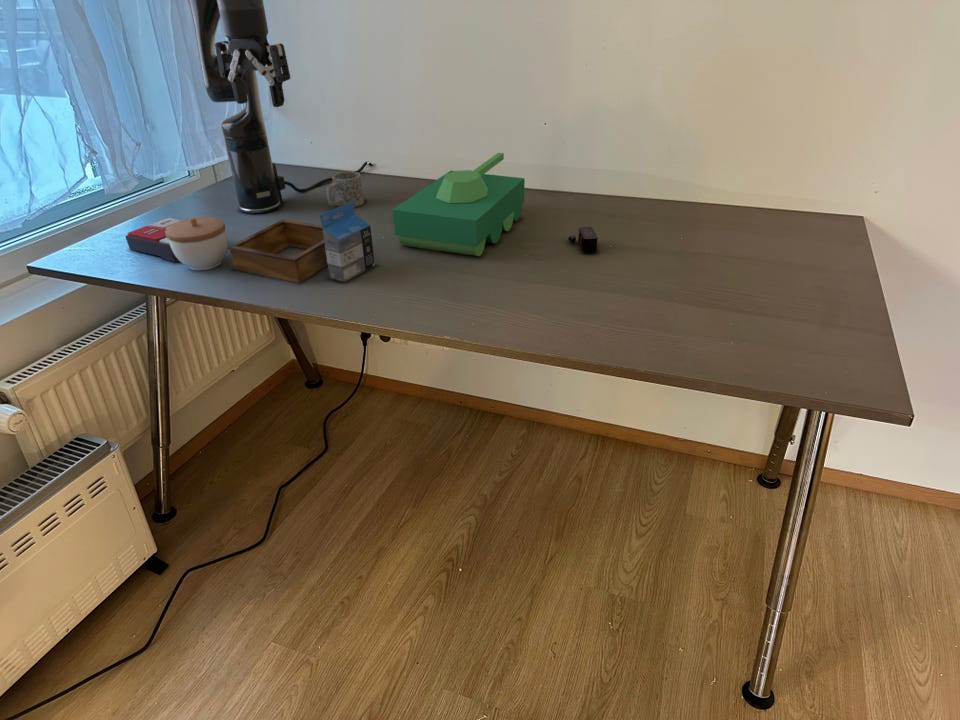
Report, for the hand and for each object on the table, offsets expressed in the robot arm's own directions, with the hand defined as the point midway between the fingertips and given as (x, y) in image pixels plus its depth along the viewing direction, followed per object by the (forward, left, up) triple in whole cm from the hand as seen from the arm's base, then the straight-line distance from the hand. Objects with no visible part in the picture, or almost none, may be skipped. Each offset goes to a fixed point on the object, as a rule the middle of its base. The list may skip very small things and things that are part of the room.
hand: (260, 104), depth 123 cm
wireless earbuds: (-22, +57, -28) cm, 67 cm away
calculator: (+10, -21, -28) cm, 37 cm away
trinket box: (+14, -9, -28) cm, 33 cm away
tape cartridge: (+6, +21, -28) cm, 35 cm away
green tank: (-24, +31, -28) cm, 48 cm away
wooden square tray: (+6, +6, -28) cm, 29 cm away
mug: (-25, -3, -28) cm, 38 cm away
